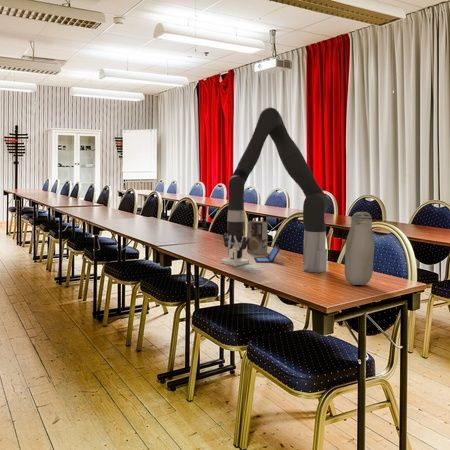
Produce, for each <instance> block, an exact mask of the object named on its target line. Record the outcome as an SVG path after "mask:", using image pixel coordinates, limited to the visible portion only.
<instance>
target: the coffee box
mask: <svg viewBox="0 0 450 450" xmlns="http://www.w3.org/2000/svg"><path fill="white" fill-rule="evenodd" d="M246 225H247V228H246V229H247V230H246V231H247V233H246V235H247V236H246V237H249V239H248V243H247V247H246V253H249V254H259V255H263V254H264V255H265V254H267V253H268V243H269V239H268V236H269V235H268V233H269V232H268V231H269V230H268V229H269V221H263V220H261V221H260V220H250V221H247V223H246Z"/></svg>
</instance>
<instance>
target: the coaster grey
mask: <svg viewBox="0 0 450 450" xmlns="http://www.w3.org/2000/svg"><path fill="white" fill-rule="evenodd" d="M246 272H247V273H251V274H259V273H264V272H265V271H264V270H259V269H257V268H253V269H248V270H245V273H246Z"/></svg>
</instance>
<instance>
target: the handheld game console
mask: <svg viewBox="0 0 450 450" xmlns="http://www.w3.org/2000/svg"><path fill="white" fill-rule="evenodd" d="M280 251H281V248H280V247H279V246H278V245H277V244H274V246H273V248H272V250H270V253H269V254H268V255H267V256H254V257H253V260H254V261H255V263H257V264H272V263H273V262H274V260H276V259H275V258H276V257H277V255H278V254H279V252H280Z"/></svg>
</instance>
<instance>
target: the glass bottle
mask: <svg viewBox="0 0 450 450" xmlns="http://www.w3.org/2000/svg"><path fill="white" fill-rule="evenodd" d="M350 222H351V223H350V226H349V232H348V234H347V236H346V240H345V248H344V249H345V250H344V251H345V252H344V277H345V279H346V281H347V282H348V284H351V285H352V286H355V285H362V286H365V285H366V284H368V283H369V282H370V281H371V279H372V278H373V270H374V259H375V258H374V257H375V239H374V234H373V233H374V232H373V227H372V226H373V218H372V215H371V214H370V213H369V212H367V211H357V212H355V213H353V215H352V216H351V219H350Z"/></svg>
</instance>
